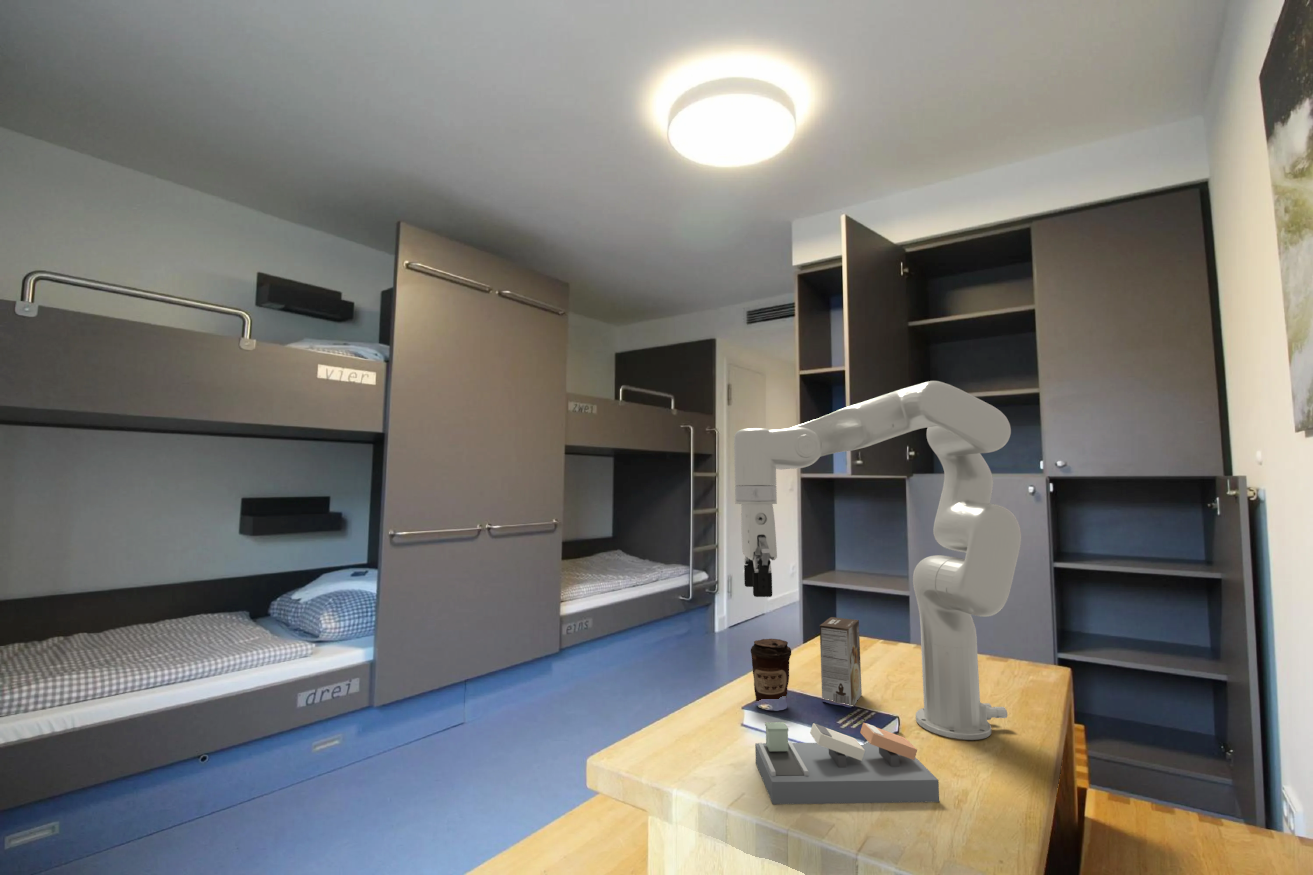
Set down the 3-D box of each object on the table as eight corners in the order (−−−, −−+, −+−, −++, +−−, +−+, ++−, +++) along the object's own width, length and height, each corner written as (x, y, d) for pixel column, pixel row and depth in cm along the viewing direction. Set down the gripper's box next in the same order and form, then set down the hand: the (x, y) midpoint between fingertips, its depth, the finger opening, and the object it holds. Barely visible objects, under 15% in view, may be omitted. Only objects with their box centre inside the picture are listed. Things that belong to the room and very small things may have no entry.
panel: (900, 760, 91) (899, 731, 91) (939, 801, 79) (937, 768, 79) (755, 762, 90) (755, 733, 90) (772, 803, 78) (771, 769, 79)
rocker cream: (851, 748, 87) (855, 737, 87) (861, 760, 83) (865, 749, 83) (810, 732, 87) (813, 721, 87) (817, 744, 83) (821, 733, 83)
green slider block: (785, 744, 89) (784, 722, 89) (788, 751, 87) (788, 728, 87) (765, 744, 89) (765, 722, 89) (768, 751, 87) (768, 728, 87)
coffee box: (832, 689, 123) (830, 615, 124) (862, 695, 120) (859, 619, 121) (821, 702, 115) (819, 624, 117) (852, 709, 112) (850, 628, 113)
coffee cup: (793, 717, 108) (792, 648, 109) (750, 713, 110) (749, 646, 111) (791, 700, 116) (790, 637, 118) (752, 697, 118) (751, 635, 119)
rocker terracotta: (901, 747, 87) (905, 736, 87) (914, 759, 83) (917, 748, 83) (860, 732, 87) (863, 721, 87) (870, 743, 83) (873, 732, 83)
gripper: (786, 496, 92) (789, 600, 90) (767, 495, 109) (769, 583, 108) (742, 496, 92) (744, 601, 90) (729, 495, 109) (730, 583, 108)
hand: (757, 591), depth 99 cm, fingers open, 9 cm apart
